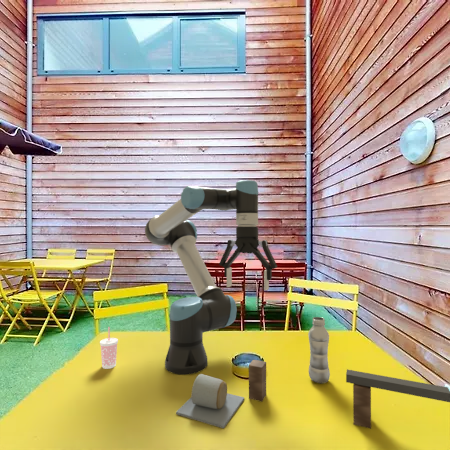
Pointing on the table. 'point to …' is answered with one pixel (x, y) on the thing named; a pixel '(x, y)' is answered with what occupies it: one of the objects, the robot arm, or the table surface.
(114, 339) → the beverage cup
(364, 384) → the dark grey bar
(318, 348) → the plastic bottle
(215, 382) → the ceramic mug
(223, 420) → the mat
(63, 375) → the table surface
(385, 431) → the table surface
